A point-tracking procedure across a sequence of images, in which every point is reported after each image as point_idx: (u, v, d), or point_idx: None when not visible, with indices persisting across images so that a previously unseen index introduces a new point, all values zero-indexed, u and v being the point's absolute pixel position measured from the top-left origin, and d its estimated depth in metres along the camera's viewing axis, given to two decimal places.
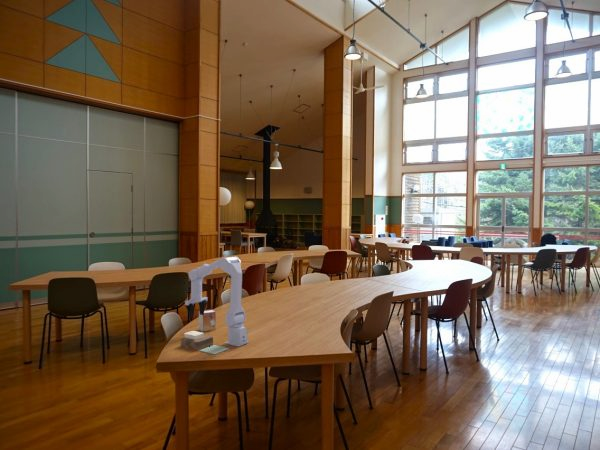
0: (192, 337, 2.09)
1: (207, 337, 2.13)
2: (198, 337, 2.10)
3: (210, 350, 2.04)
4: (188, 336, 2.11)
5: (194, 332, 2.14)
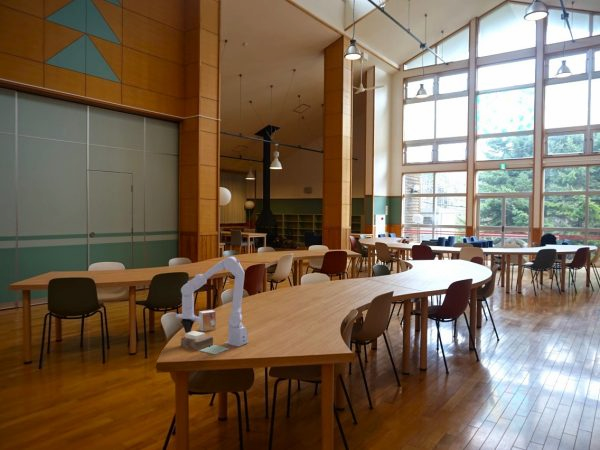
0: (193, 337, 2.09)
1: (207, 337, 2.13)
2: (199, 337, 2.10)
3: (210, 350, 2.04)
4: (189, 336, 2.11)
5: (195, 332, 2.14)
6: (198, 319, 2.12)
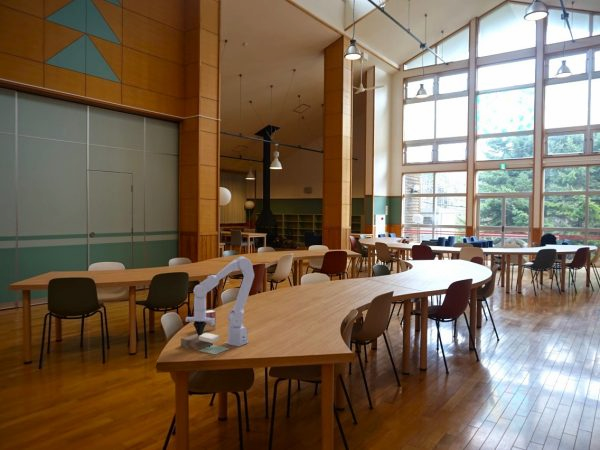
0: (209, 340, 2.05)
1: None
2: (214, 340, 2.07)
3: (210, 350, 2.04)
4: (204, 339, 2.07)
5: (209, 334, 2.10)
6: (213, 320, 2.09)
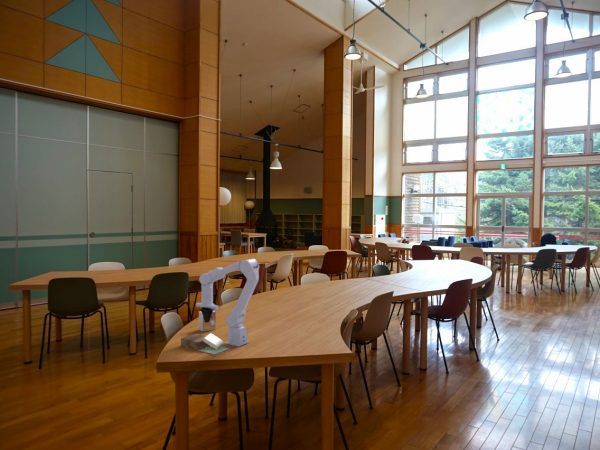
0: (213, 346, 2.05)
1: None
2: (219, 346, 2.07)
3: (210, 350, 2.04)
4: (208, 343, 2.06)
5: (213, 337, 2.09)
6: (216, 308, 2.17)
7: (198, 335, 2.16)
